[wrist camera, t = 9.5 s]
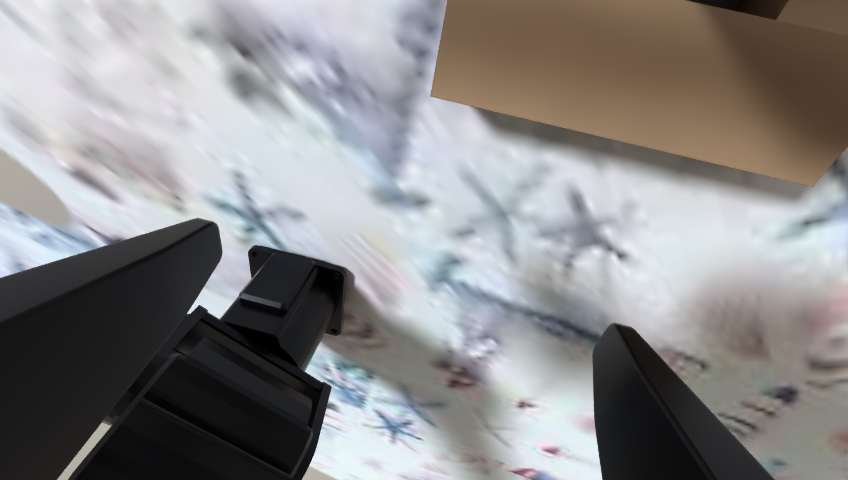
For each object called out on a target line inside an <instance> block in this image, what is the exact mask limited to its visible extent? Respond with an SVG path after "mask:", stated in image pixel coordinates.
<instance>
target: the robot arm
mask: <svg viewBox="0 0 848 480" xmlns="http://www.w3.org/2000/svg"><path fill="white" fill-rule="evenodd" d="M257 253H258V254H257ZM248 256H249V263H250V270H251V278H252V279H251V280H250V281H249V283H248V284H247V285H246V286H245V287H244V289H243V290H242V291H241V292H240V294H239V296H238V298H237V299H236V300H235V301H234V303H233V304H232V305H231V306H230V307H229V309H228V310H227V311H226V312H225V313H224V315H223V316H222V317H221V318H220V319H218V318H216V317H215V316H213V315H211V314H210V313H208V310H207V309H205V308H204V307H202V306H200V305H199V306H198V307H197V308H196V309H195V310H194V311H193V312H192V313H191V314H187V312H188V311H189V309H190V308H191V306H192V305H193V303H194V302H195V300H196V298H197V297H198V295H199V294H200V292H201V290H202V289H203V287H204V286H205V284H206V282H207V281H208V279H209V278H210V276H211V274H212V273H213V271H214V270H215V268H216V266H217V265H218V263H219V262H220V260H221V257H222V245H221V239H220V233H219V228H218V225H217V224H216V223H215V222H213V221H209V220H205V219H200V218H196V219H192V220H189V221H185V222H182V223H179V224H176V225H172V226H169V227H166V228H163V229H159V230H156V231H153V232H149V233H146V234H143V235H140V236H136V237H133V238H130V239H126V240H123V241H120V242H117V243H113V244H110V245H107V246H103V247H100V248H97V249H94V250H90V251H87V252H84V253H81V254H77V255H74V256H71V257H67V258H64V259H61V260H58V261H54V262H51V263H48V264H44V265H41V266H38V267H35V268H31V269H28V270H25V271H21V272H18V273H15V274H12V275H8V276H5V277H2V278H0V480H57V479H58V477H59V476H60V475H61V474H62V472H63V471H64V470H65V469H66V467H67V466H68V465H69V464H70V462H71V461H72V460H73V458H74V457H75V456H76V455H77V453H78V452H79V451H80V450H81V448H82V447H83V446H84V444H85V443H86V442H87V441H88V439H89V438H90V437H91V435H92V434H93V433H94V432H95V430H96V429H97V428H98V427H99V425H100V424H101V423H102V422H103V423H106V424H108V425H110V426H111V427H110V429H109V430H108V431H107V432H106V433H105V435H104V436H103V437H102V438H101V439H100V441H99V442H98V443H97V444H96V446H95V447H94V448H93V449H92V450H91V452H90V453H89V454H88V455H87V456H86V458H85V459H84V460H83V461H82V462H81V464H80V465H79V466H78V467H77V468H76V470H75V471H74V472H73V473H72V475H71V476H70V478H69V479H68V480H302V478H303V476H304V474H305V472H306V471H307V469H308V467H309V465H310V463H311V460H312V458H313V455H314V453H315V450H316V447H317V443H318V439H319V435H320V431H321V427H322V423H323V419H324V415H325V411H326V407H327V403H328V399H329V395H330V391H331V386H330V385H328V384H327V383H325V382H323V383H322V382H320V381H319V380H317V379H316V378H314V377H312V376H311V375H309V374H307V373H306V372H305V370H306V368H307V366H308V364H309V362H310V360H311V358H312V356H313V355H314V353H315V351H316V349H317V347H318V345H319V343H320V341H321V339H322V337H323V335H324V333H327V334H331V335H335V336H337V335H340V333H341V331H342V329H343V314H344V299H345V285H346V271H345V270H344V269H343V268H341V267H339V266H335V265H331V264H327V263H323V262H320V261H316V260H312V259H308V258H304V257H300V256H296V255H293V254H289V253H285V252H281V251H277V250H273V249H269V248H266V247H262V246H257V245H255V246H253V247H252V248H251V249H250V250H249V251H248ZM336 273H337V274H339V275H337V274H336ZM593 393H594V420H595V429H596V437H597V444H598V451H599V458H600V465H601V472H602V480H775V479H774V478H773V477H772V476H771V475H770V474H769V473H768V472H767V471H766V470H765V469H764V467H763V466H762V465H761V464H760V463H759V462H758V461H757V460H756V459H755V458H754V457H753V456H752V455H751V454H750V453H749V451H748V450H747V449H746V448H745V447H744V446H743V445H742V444H741V443H740V442H739V441H738V440H737V439H736V438H735V436H734V435H733V434H732V433H731V432H730V431H729V430H728V429H727V428H726V427H725V426H724V425H723V424H722V423H721V421H720V420H719V419H718V418H717V417H716V416H715V415H714V414H713V413H712V412H711V411H710V410H709V409H708V408H707V407H706V405H705V404H704V403H703V402H702V401H701V400H700V399H699V398H698V397H697V396H696V395H695V394H694V393H693V392H692V390H691V389H690V388H689V387H688V386H687V385H686V384H685V383H684V382H683V381H682V380H681V379H680V378H679V377H678V375H677V374H676V373H675V372H674V371H673V370H672V369H671V368H670V367H669V366H668V365H667V364H666V363H665V362H664V360H663V359H662V358H661V357H660V356H659V355H658V354H657V353H656V352H655V351H654V350H653V349H652V348H651V347H650V346H649V344H648V343H647V342H646V341H645V340H644V339H643V338H642V337H641V336H640V335H639V334H638V333H637V332H636V331H635V330H634V329H633V328H632V327H629V326H626V325H622V324H618V323H612V324H610V325H609V326H608V328H607V329H606V331H605V332H604V333H603V335H602V336H601V338H600V339H599V341H598V342H597V344H596V345H595V347H594V350H593Z"/></svg>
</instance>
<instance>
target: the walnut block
mask: <svg viewBox="0 0 848 480" xmlns="http://www.w3.org/2000/svg"><path fill="white" fill-rule="evenodd" d="M430 97H435V98H439V99H443V100H447V101H452V102H456V103H460V104H464V105H469V106H473V107H477V108H481V109H486V110H490V111H494V112H498V113H502V114H507V115H511V116H515V117H519V118H524V119H528V120H532V121H536V122H541V123H545V124H549V125H553V126H558V127H562V128H566V129H570V130H574V131H579V132H583V133H587V134H591V135H596V136H600V137H604V138H608V139H613V140H617V141H621V142H625V143H630V144H634V145H638V146H642V147H646V148H651V149H655V150H659V151H663V152H668V153H672V154H676V155H680V156H685V157H689V158H693V159H697V160H702V161H706V162H710V163H714V164H718V165H723V166H727V167H731V168H735V169H740V170H744V171H748V172H752V173H757V174H761V175H765V176H769V177H774V178H778V179H782V180H786V181H791V182H795V183H799V184H803V185H807V186H813V185H814V184H815V183H816V182H817V180H818V179H819V178H820V177H821V176H822V175H823V174H824V173H825V171H826V170H827V169H828V168H829V167H830V166H831V165H832V164H833V163H834V161H835V160H836V159H837V158H838V157H839V156H840V155H841V154H842V152H843V151H844V150H845V149H846V148H847V147H848V0H448V1H447V6H446V12H445V17H444V23H443V28H442V34H441V40H440V45H439V51H438V56H437V62H436V67H435V73H434V79H433V84H432V90H431V95H430Z"/></svg>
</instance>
